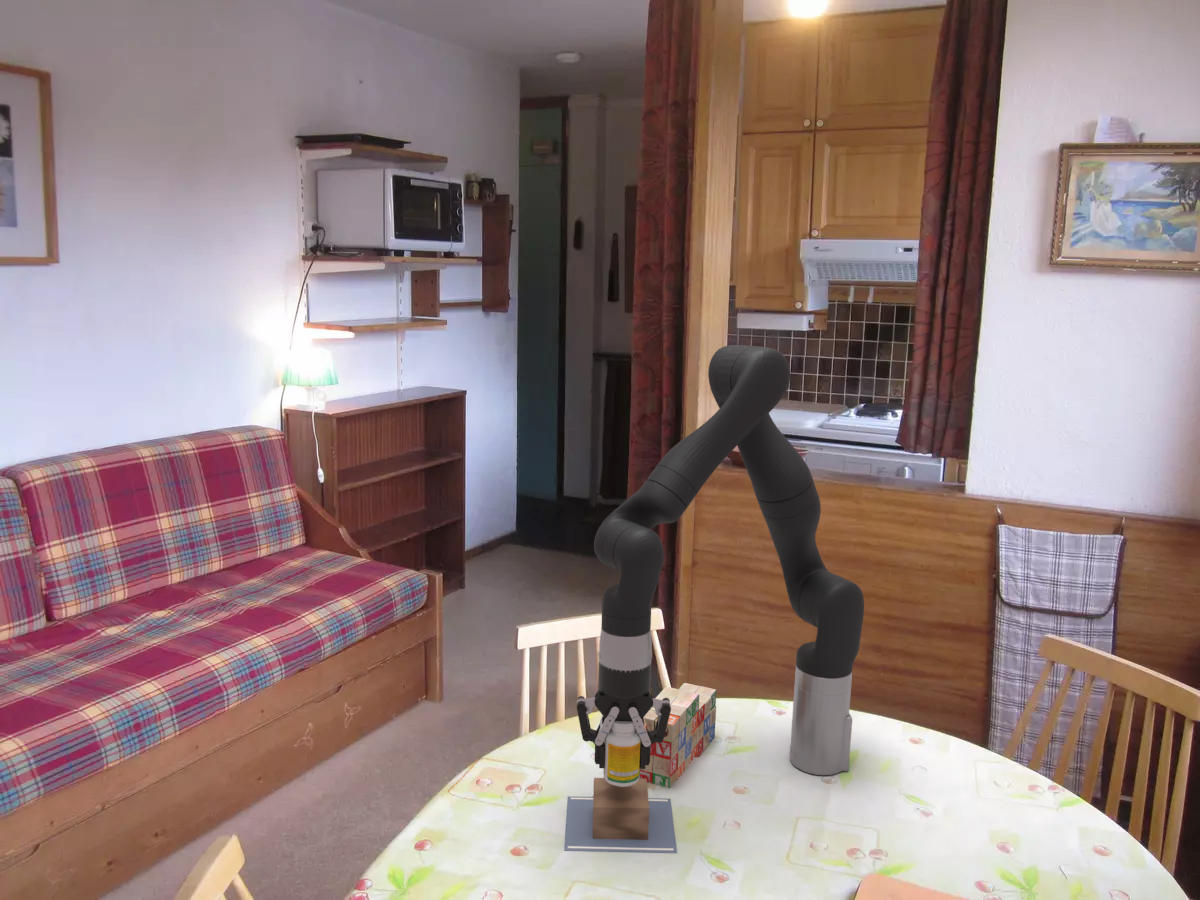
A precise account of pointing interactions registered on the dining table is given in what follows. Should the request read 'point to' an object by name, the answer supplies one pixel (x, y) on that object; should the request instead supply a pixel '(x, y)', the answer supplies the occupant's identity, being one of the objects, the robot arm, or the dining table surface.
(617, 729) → the supplement bottle
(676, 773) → the stack of blocks
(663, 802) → the blueprint board
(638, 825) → the walnut plinth
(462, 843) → the dining table surface
